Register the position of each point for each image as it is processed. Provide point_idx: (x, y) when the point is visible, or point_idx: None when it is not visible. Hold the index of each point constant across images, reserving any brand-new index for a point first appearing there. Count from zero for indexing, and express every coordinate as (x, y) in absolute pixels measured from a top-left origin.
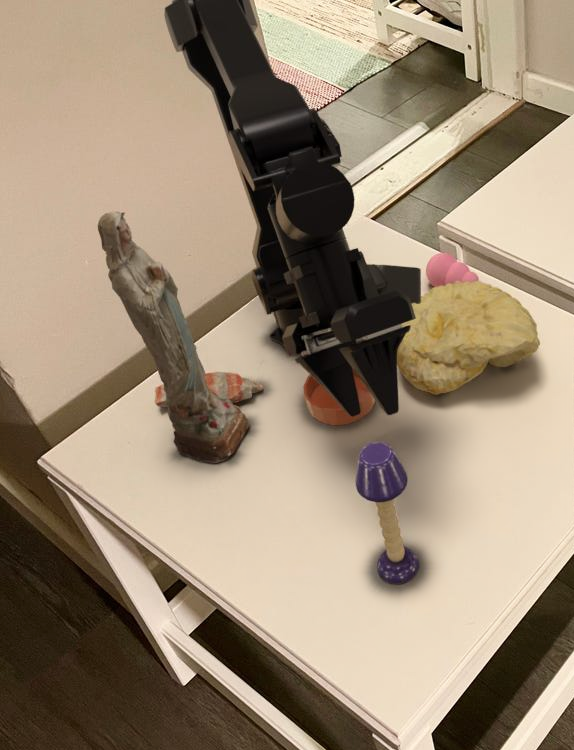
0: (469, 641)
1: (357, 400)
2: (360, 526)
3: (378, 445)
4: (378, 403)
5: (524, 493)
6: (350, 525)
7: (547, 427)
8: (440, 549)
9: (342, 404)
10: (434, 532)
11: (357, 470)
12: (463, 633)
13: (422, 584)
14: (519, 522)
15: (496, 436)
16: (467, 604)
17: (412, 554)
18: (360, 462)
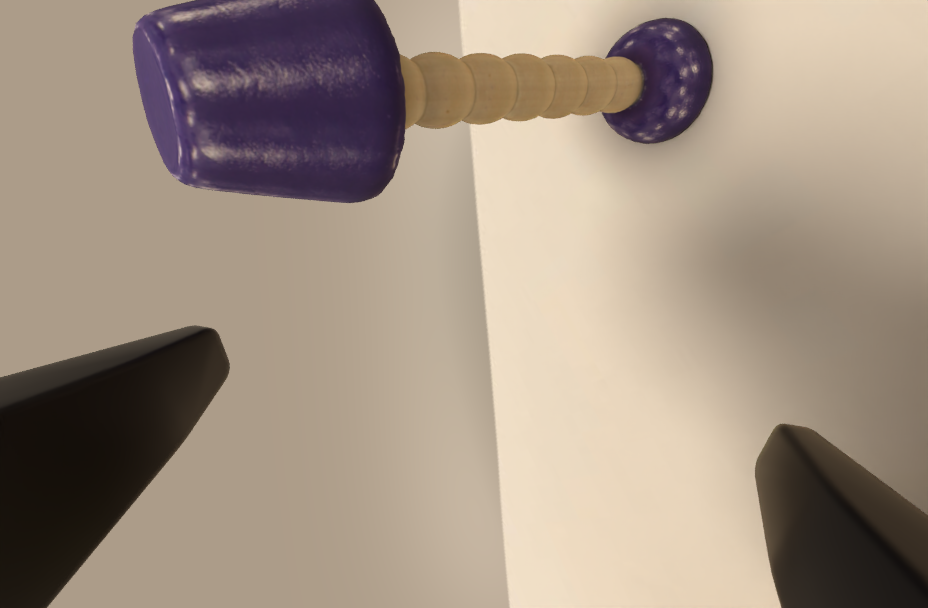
0: None
1: (774, 553)
2: (868, 106)
3: (174, 150)
4: (135, 352)
5: (568, 399)
6: (915, 80)
7: (622, 573)
8: (610, 195)
9: (831, 492)
10: (648, 228)
11: (250, 4)
12: None
13: None
14: (541, 332)
15: (696, 547)
16: (507, 123)
17: (614, 126)
18: (162, 13)
